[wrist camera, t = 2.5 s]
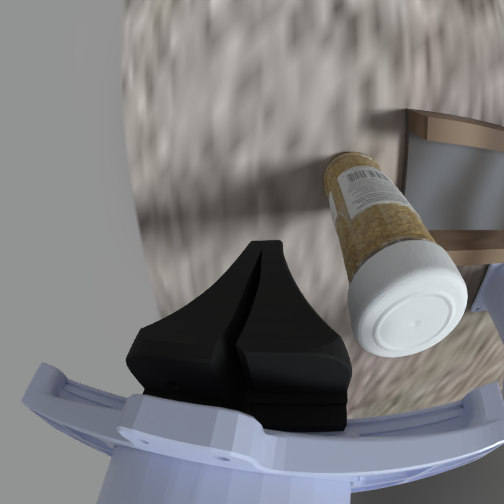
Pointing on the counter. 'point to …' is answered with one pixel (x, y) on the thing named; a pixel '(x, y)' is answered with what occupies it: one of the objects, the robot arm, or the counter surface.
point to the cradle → (457, 183)
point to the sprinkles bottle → (390, 262)
